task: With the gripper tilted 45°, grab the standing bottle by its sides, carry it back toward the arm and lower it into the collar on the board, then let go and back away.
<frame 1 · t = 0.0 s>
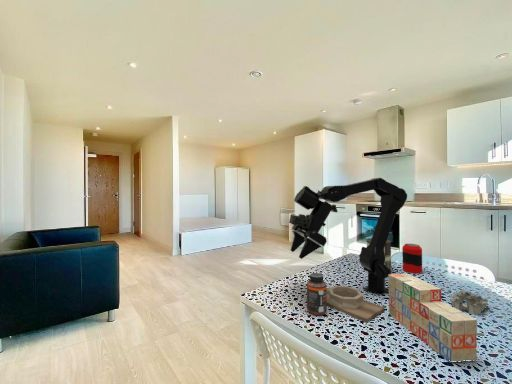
hand: (295, 254, 85), 15 cm above the table, tool tilted 35°, fingers open, 9 cm apart
supplement bottle: (316, 311, 75), on the table
coffee can: (378, 270, 112), on the table
soda can: (412, 271, 111), on the table
stack of blocks: (425, 335, 62), on the table
egg carton: (468, 308, 77), on the table
collar board: (345, 304, 79), on the table
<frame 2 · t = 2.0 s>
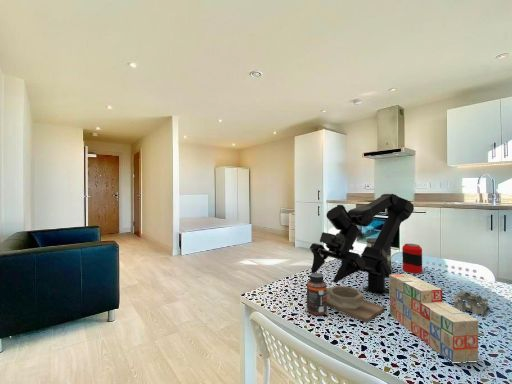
hand: (322, 277, 76), 10 cm above the table, tool tilted 45°, fingers open, 9 cm apart
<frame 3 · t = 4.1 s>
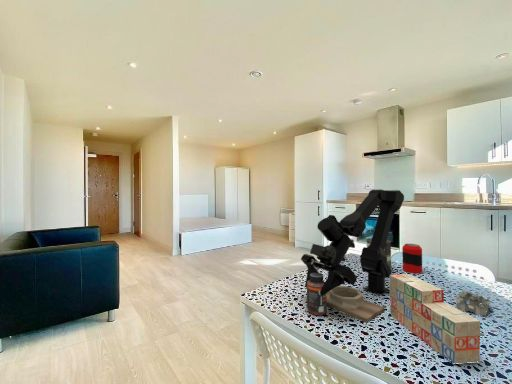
hand: (313, 290, 74), 7 cm above the table, tool tilted 45°, fingers closed on supplement bottle, 6 cm apart
supplement bottle: (316, 311, 75), on the table, touching gripper
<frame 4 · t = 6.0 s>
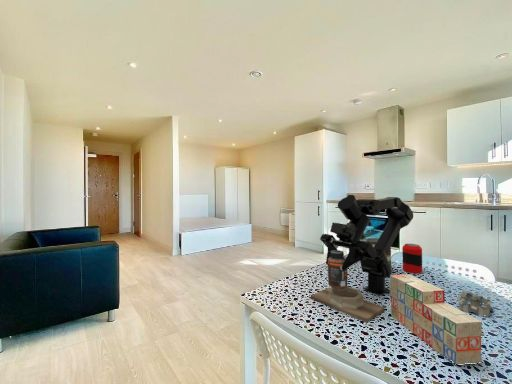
hand: (334, 266, 77), 13 cm above the table, tool tilted 45°, fingers closed on supplement bottle, 6 cm apart
supplement bottle: (338, 286, 78), point 6 cm above the table, touching gripper
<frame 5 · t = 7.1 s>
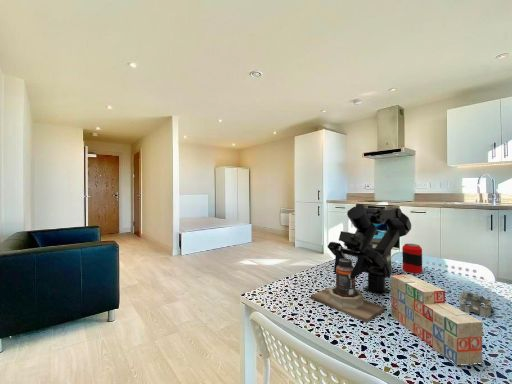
hand: (342, 275, 78), 10 cm above the table, tool tilted 45°, fingers closed on supplement bottle, 6 cm apart
supplement bottle: (345, 294, 79), point 3 cm above the table, touching gripper
when the fingers open (8 cm above the table, at t = 7.9 s): supplement bottle stays where it is, resting on collar board.
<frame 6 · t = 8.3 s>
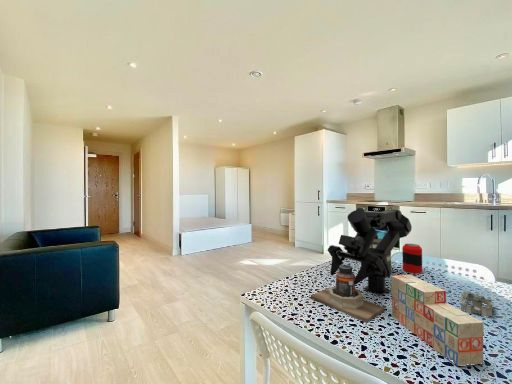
hand: (342, 279, 78), 9 cm above the table, tool tilted 45°, fingers open, 9 cm apart
supplement bottle: (345, 301, 79), point 1 cm above the table, touching collar board
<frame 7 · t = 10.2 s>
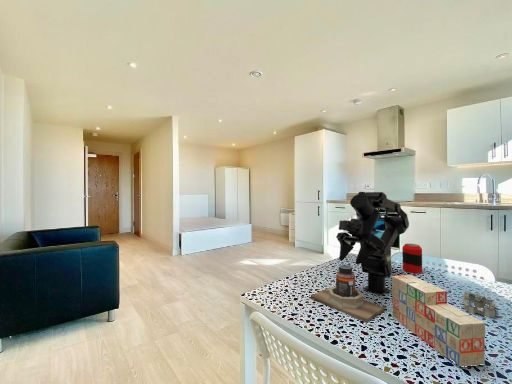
hand: (348, 261, 82), 13 cm above the table, tool tilted 35°, fingers open, 9 cm apart
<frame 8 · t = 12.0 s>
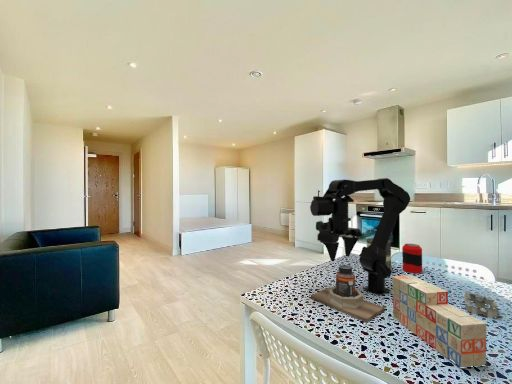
hand: (340, 258, 86), 13 cm above the table, tool pointing down, fingers open, 9 cm apart
at the end: supplement bottle 0.2 cm off-centre on the collar board, point 0.8 cm above the collar board's base; supplement bottle tilted 0°; the gripper is holding nothing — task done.
